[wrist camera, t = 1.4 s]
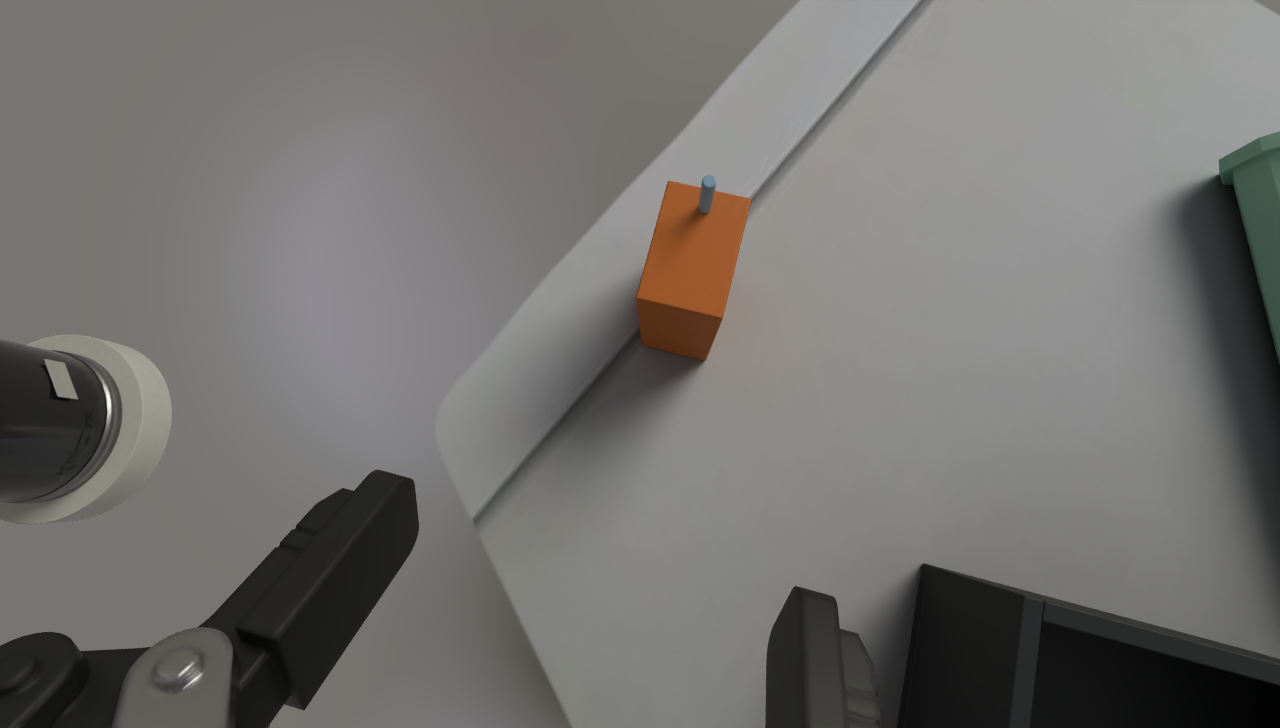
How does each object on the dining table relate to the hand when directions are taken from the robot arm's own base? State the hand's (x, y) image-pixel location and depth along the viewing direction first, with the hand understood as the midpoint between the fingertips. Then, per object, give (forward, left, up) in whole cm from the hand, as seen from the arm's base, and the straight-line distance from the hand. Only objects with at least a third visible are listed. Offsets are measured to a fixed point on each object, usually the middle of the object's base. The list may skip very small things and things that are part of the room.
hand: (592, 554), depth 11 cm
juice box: (0, +12, -21) cm, 24 cm away
